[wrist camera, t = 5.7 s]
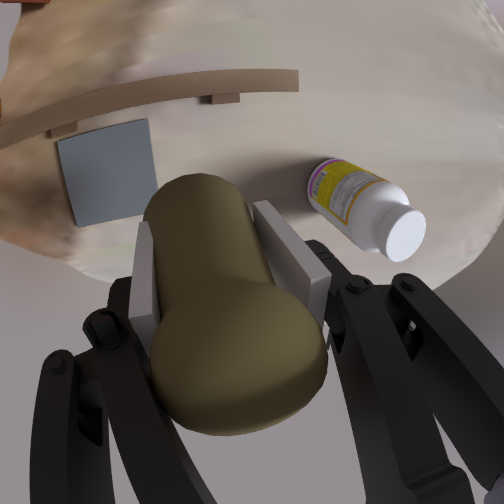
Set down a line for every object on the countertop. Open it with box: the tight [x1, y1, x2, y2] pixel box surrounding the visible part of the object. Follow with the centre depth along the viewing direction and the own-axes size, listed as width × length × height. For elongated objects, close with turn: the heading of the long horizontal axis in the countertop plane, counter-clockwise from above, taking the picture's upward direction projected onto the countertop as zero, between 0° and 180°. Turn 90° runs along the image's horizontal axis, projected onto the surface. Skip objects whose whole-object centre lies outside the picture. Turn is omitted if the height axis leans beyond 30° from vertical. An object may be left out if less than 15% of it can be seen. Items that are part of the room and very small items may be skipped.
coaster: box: [57, 119, 158, 228], centre depth 23 cm, size 9×9×1 cm
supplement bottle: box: [307, 159, 426, 262], centre depth 26 cm, size 7×7×13 cm
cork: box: [143, 173, 328, 436], centre depth 11 cm, size 6×6×11 cm
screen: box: [0, 69, 299, 150], centre depth 16 cm, size 3×18×13 cm, turn 93°
